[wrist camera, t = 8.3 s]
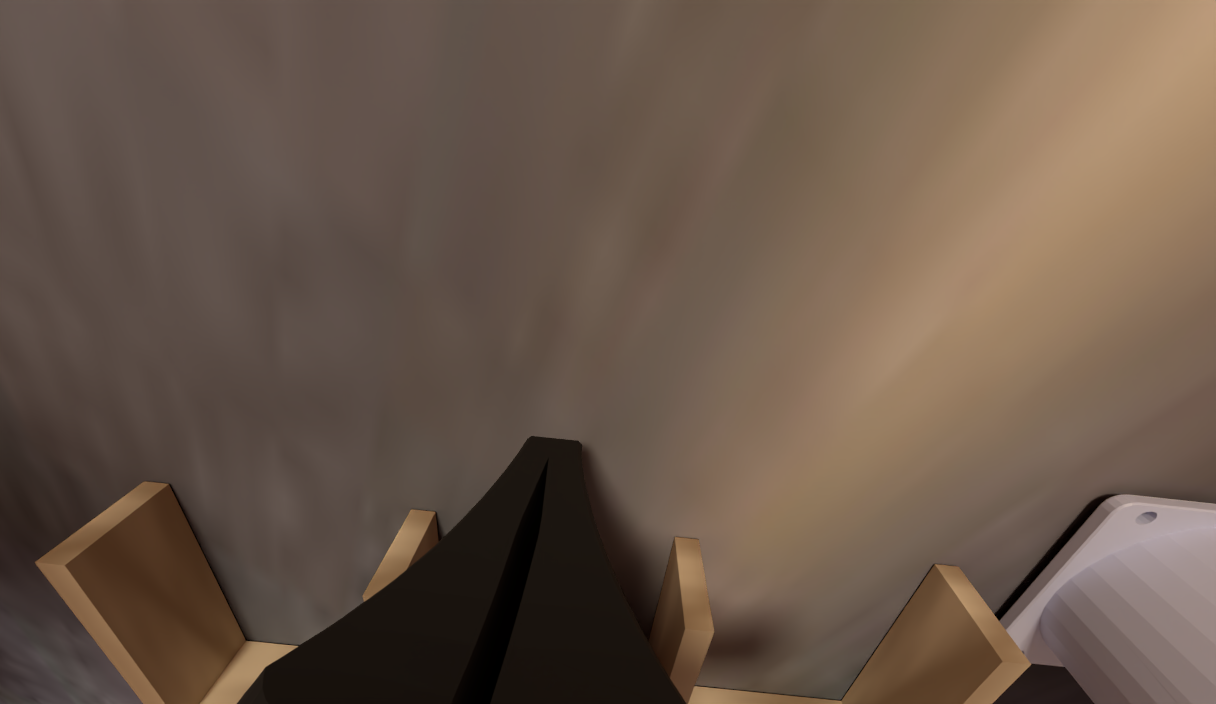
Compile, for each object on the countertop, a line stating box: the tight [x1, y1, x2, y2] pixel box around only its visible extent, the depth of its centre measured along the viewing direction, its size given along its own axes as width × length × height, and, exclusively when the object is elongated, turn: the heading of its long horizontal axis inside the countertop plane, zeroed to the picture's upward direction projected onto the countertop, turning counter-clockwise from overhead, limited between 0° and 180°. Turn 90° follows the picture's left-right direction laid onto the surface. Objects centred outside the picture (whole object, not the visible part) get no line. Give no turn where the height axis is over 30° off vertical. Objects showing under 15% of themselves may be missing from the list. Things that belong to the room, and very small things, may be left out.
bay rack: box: [35, 481, 1031, 704], centre depth 15 cm, size 27×10×3 cm, turn 84°
